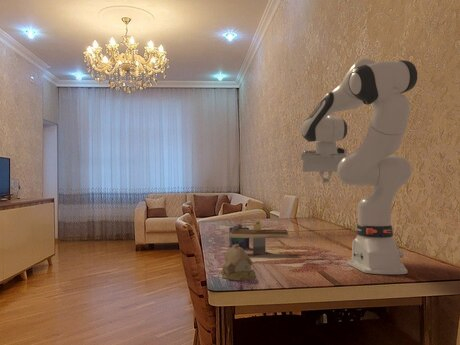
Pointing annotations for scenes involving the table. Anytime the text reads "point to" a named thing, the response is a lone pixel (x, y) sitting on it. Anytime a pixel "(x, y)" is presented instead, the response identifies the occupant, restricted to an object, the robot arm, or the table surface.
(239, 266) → the ceramic model
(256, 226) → the rider
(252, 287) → the table surface
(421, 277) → the table surface
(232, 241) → the flask
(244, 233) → the beam
